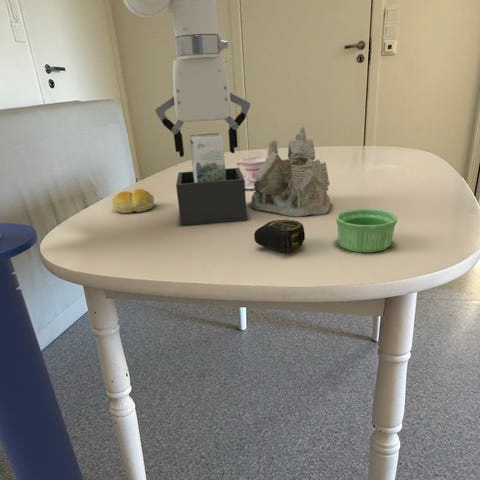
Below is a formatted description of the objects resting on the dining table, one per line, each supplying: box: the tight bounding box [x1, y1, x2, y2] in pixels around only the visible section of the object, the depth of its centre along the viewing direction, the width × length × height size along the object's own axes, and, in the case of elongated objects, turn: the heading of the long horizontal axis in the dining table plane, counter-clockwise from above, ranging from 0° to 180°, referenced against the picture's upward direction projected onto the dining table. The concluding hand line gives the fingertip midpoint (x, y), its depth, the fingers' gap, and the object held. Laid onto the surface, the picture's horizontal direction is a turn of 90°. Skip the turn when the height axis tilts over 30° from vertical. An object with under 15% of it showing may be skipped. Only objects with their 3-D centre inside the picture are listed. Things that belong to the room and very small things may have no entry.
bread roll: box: [111, 188, 155, 214], centre depth 98 cm, size 8×9×4 cm
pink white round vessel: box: [236, 155, 268, 190], centre depth 111 cm, size 12×12×6 cm
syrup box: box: [188, 132, 226, 183], centre depth 87 cm, size 6×6×14 cm
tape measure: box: [253, 219, 306, 253], centre depth 70 cm, size 7×7×4 cm
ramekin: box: [335, 208, 398, 253], centre depth 69 cm, size 9×9×4 cm
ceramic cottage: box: [250, 126, 331, 217], centre depth 89 cm, size 16×16×15 cm
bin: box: [175, 167, 248, 226], centre depth 89 cm, size 13×13×8 cm
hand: (207, 153), depth 85 cm, fingers open, 9 cm apart
